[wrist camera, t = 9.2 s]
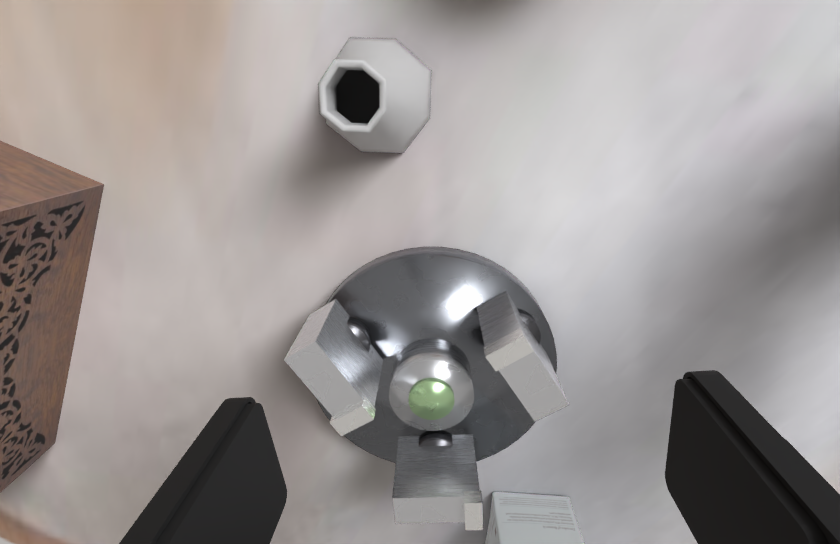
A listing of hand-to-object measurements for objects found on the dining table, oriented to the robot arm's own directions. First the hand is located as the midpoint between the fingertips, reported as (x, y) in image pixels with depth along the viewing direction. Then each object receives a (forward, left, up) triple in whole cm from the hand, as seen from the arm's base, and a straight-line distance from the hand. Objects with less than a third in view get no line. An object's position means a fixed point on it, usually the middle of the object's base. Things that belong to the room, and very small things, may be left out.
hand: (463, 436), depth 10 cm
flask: (+7, -5, -23) cm, 25 cm away
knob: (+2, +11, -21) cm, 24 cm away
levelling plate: (-5, +11, -23) cm, 26 cm away
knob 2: (-8, +5, -21) cm, 23 cm away
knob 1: (-8, +18, -21) cm, 29 cm away
